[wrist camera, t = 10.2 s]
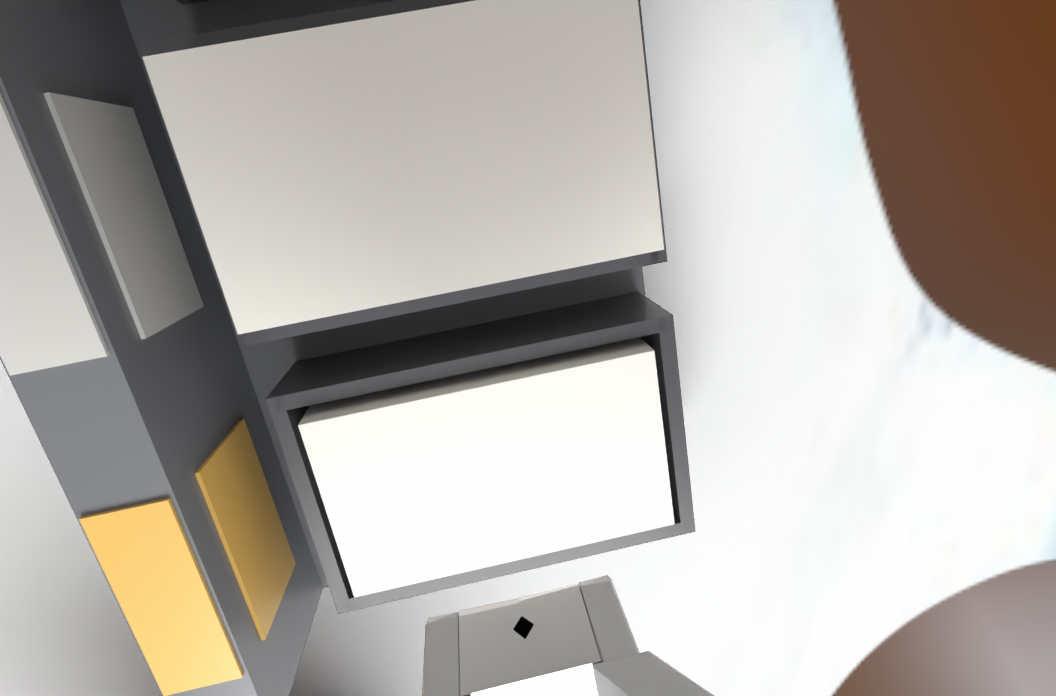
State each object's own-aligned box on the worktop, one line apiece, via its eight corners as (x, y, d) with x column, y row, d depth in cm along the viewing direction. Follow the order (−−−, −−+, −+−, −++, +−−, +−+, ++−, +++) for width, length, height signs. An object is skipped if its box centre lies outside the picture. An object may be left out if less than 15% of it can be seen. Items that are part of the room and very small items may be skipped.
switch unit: (-83, -357, 13) (-591, -854, 7) (546, -436, 14) (624, -942, 7) (271, 581, 21) (191, 762, 14) (660, 493, 21) (746, 628, 15)
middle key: (189, 73, 12) (142, 56, 10) (608, 1, 13) (635, -27, 11) (267, 311, 14) (237, 334, 12) (636, 238, 14) (664, 249, 13)
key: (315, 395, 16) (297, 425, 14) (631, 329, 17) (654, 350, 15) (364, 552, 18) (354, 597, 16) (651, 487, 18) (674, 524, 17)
